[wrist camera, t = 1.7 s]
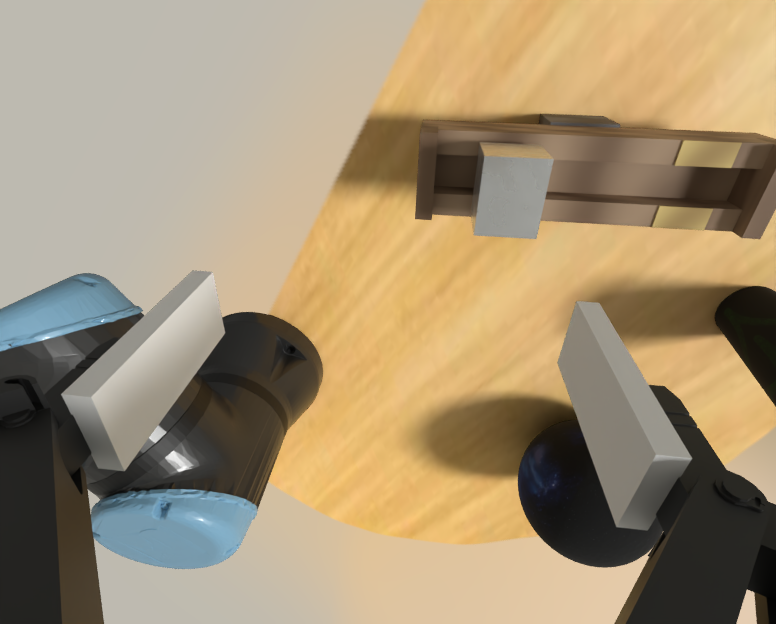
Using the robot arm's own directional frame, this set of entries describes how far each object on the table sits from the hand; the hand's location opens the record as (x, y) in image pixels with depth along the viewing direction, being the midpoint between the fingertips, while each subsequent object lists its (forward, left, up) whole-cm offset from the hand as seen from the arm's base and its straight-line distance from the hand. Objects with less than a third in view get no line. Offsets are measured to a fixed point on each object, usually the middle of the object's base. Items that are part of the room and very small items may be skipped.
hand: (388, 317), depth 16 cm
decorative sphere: (+21, -33, -27) cm, 48 cm away
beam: (+12, 0, -27) cm, 29 cm away
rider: (+6, 0, -20) cm, 21 cm away
